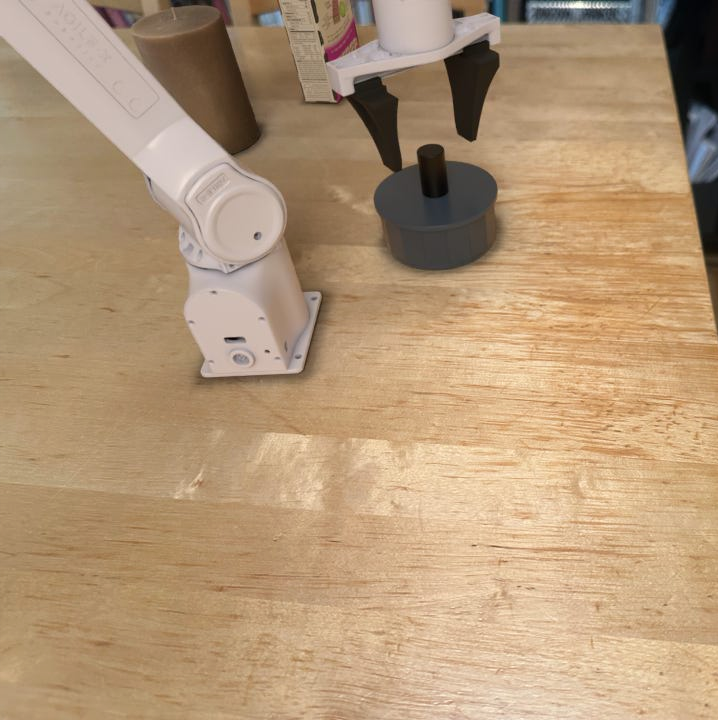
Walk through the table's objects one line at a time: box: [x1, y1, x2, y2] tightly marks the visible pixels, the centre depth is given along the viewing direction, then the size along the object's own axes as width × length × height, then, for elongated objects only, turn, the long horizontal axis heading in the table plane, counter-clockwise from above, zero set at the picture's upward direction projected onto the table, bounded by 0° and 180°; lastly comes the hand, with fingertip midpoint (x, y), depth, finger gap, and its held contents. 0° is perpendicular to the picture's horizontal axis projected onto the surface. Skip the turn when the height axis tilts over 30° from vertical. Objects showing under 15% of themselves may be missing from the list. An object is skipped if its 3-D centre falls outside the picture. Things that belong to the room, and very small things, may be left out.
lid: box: [372, 143, 499, 232], centre depth 58 cm, size 11×11×5 cm
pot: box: [379, 205, 497, 271], centre depth 61 cm, size 10×10×4 cm
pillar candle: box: [129, 4, 261, 155], centre depth 74 cm, size 10×10×15 cm
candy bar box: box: [276, 0, 361, 104], centre depth 83 cm, size 11×5×16 cm, turn 168°
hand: (430, 151), depth 56 cm, fingers open, 7 cm apart
